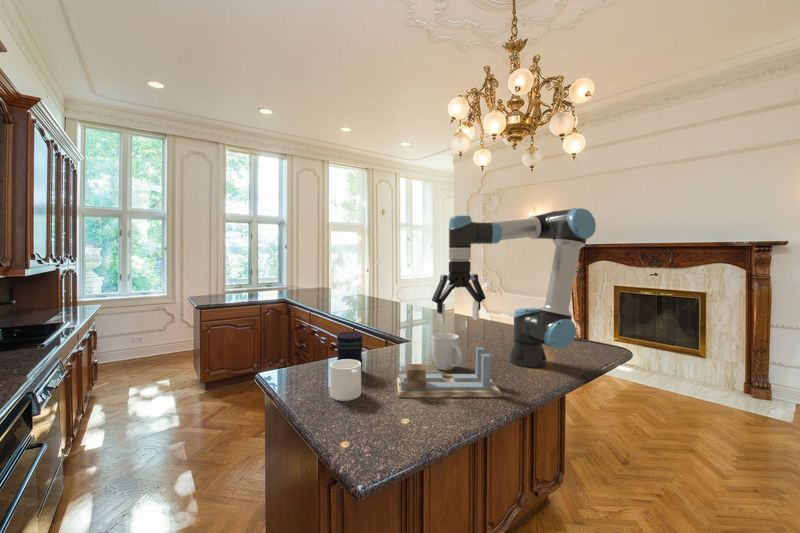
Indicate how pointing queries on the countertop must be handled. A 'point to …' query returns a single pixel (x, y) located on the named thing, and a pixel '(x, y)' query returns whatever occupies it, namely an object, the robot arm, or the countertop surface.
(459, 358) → the mug
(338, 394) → the mug
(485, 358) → the strip
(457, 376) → the broken strip
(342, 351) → the storage jar
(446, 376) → the lane board
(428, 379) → the broken strip
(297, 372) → the countertop surface
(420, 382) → the walnut block
